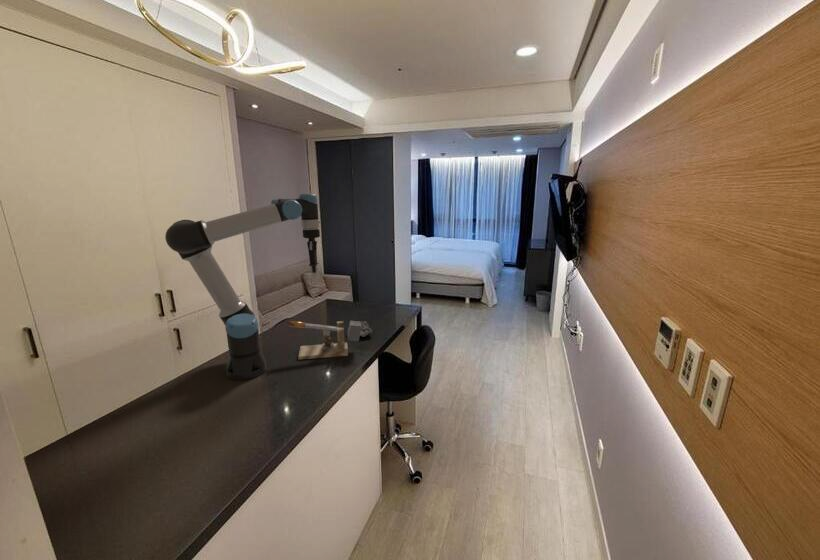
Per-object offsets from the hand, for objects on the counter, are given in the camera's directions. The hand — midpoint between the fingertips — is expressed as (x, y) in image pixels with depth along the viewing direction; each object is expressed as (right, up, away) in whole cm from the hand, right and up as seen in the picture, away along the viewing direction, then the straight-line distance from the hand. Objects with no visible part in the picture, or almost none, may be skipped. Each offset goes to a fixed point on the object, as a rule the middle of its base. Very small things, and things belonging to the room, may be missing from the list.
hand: (315, 278), depth 162 cm
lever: (+5, -26, -3) cm, 27 cm away
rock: (+19, -30, +20) cm, 41 cm away
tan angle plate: (+4, -35, -1) cm, 35 cm away
